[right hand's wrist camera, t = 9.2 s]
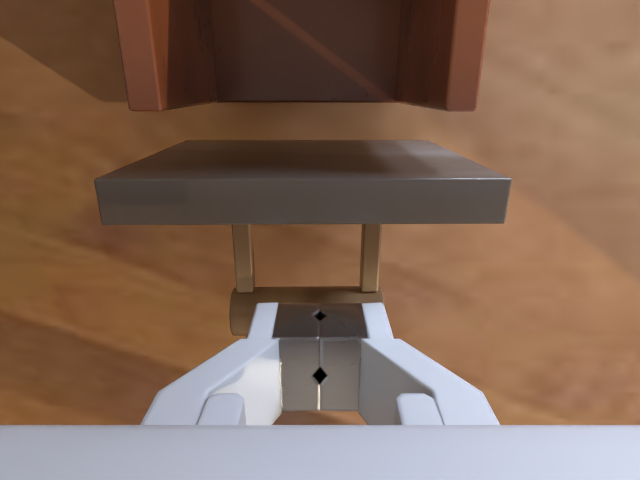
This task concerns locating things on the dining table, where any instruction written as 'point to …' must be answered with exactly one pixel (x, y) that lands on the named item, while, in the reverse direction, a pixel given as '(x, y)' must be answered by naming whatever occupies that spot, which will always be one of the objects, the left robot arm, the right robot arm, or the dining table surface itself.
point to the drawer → (302, 155)
